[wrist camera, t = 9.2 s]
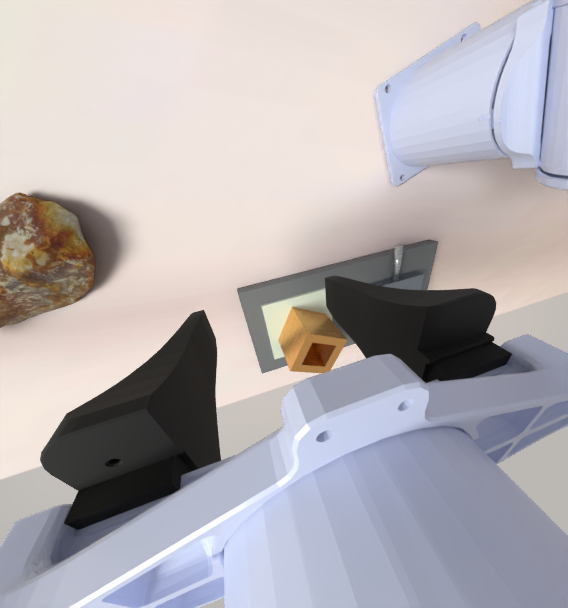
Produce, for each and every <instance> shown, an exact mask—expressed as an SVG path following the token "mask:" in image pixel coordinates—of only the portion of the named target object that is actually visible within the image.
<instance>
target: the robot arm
mask: <svg viewBox="0 0 568 608" xmlns="http://www.w3.org/2000/svg"><path fill="white" fill-rule="evenodd" d="M461 38H462V42H461ZM386 87H387V88H388V91H387V93H386V91H385V88H386ZM375 101H376V107H377V112H378V117H379V122H380V128H381V133H382V138H383V143H384V148H385V154H386V159H387V164H388V169H389V175H390V180H391V184H392V185H393V186H398V185H400V184H402V183H403V182H405V181H406V180H408V179H409V178H411V177H413V176H414V175H416V174H417V173H419V172H420V171H422V170H423V169H425V168H427V167H428V166H430V165H439V164H450V163H461V162H472V161H483V160H493V159H504V158H511V160H512V164H513V169H523V168H535V174H534V175H535V178H536V180H537V181H538V182H539V183H540V184H542V185H544V186H547V187H551V188H555V189H563V190H568V0H532V1H530V2H528V3H527V4H525V5H523V6H522V7H520V8H518V9H516V10H515V11H513V12H511V13H510V14H508V15H506V16H505V17H503V18H501V19H499V20H498V21H496V22H494V23H493V24H491V25H489V26H487V27H486V28H484V29H482V30H481V31H480V25H479V23H478V22H475V23H473V24H472V25H470V26H469V27H467V28H466V29H464V30H463V31H461V32H460V33H458V34H457V35H455V36H454V37H452V38H451V39H449V40H448V41H446V42H445V43H443V44H441V45H440V46H438V47H437V48H435V49H434V50H432V51H431V52H429V53H428V54H426V55H425V56H423V57H422V58H420V59H419V60H417V61H416V62H414V63H413V64H411V65H410V66H408V67H407V68H405V69H404V70H402V71H401V72H399V73H398V74H396V75H395V76H393V77H392V78H390V79H389V80H387V81H386V82H384V83H383V84H381V85H380V86H378V87H377V88H376V90H375ZM401 176H402V178H401V180H400V177H401ZM325 292H326V307H327V308H328V310H329V312H330V313H331V315H332V316H333V318H334V319H335V320H336V322H337V323H338V324H339V325H340V326H341V327H342V329H343V330H344V331H345V332H346V333H347V334H348V335H349V336H350V338H351V339H352V340H353V341H354V342H355V343H356V345H357V346H358V347H359V348H360V350H361V351H362V353H363V354H364V356H365V357H366V359H363V360H360V361H357V362H354V363H352V364H349V365H346V366H343V367H340V368H337V369H334V370H331V371H328V372H325V373H322V374H319V375H316V376H313V377H310V378H307V379H306V380H304V381H302V382H300V383H298V384H296V385H295V386H293V388H292V389H291V390H290V391H289V392H288V393H287V395H286V396H285V397H284V398H283V401H282V407H281V413H282V416H283V420H284V426H283V427H282V428H280V429H278V430H277V431H275V432H273V433H271V434H270V435H268V436H267V437H265V438H264V439H262V440H260V441H258V442H257V443H255V444H253V445H252V446H250V447H248V448H247V449H245V450H244V451H242V452H241V453H239V454H237V455H234V456H232V457H229V458H226V459H224V460H221V457H220V448H219V438H218V426H217V414H216V398H215V385H216V366H217V346H216V338H215V336H214V333H213V331H212V328H211V326H210V324H209V321H208V319H207V316H206V314H205V312H204V310H202V311H198V312H194V313H192V314H191V315H190V316H189V317H188V318H187V320H186V321H185V322H184V323H183V325H182V326H181V327H180V328H179V329H178V331H177V332H176V333H175V334H174V335H173V336H172V337H171V338H170V340H169V341H168V342H167V343H166V344H165V345H164V346H163V347H162V348H161V349H160V350H159V351H158V352H157V353H156V354H155V355H153V356H152V357H151V358H150V359H149V360H148V361H147V362H145V363H144V364H143V365H142V366H140V367H139V368H138V369H136V370H135V371H134V372H133V373H131V374H130V375H129V376H127V377H126V378H124V379H123V380H122V381H120V382H119V383H117V384H116V385H114V386H113V387H111V388H110V389H108V390H106V391H105V392H103V393H102V394H100V395H98V396H97V397H95V398H93V399H92V400H90V401H88V402H86V403H85V404H83V405H81V406H79V407H78V408H76V409H74V410H72V411H71V412H69V413H67V414H66V416H65V417H64V419H63V420H62V422H61V423H60V425H59V426H58V428H57V429H56V431H55V433H54V434H53V436H52V437H51V439H50V440H49V442H48V443H47V445H46V446H45V448H44V449H43V451H42V452H41V458H40V461H41V463H42V465H43V467H44V469H45V470H46V471H47V472H49V473H50V474H51V475H52V476H54V477H56V478H58V479H59V480H61V481H63V482H64V483H66V484H68V485H69V486H71V487H73V488H74V489H76V490H78V494H77V496H76V498H75V500H74V502H73V504H62V505H58V506H54V507H52V508H49V509H46V510H43V511H41V512H38V513H35V514H33V515H30V516H27V517H24V518H22V519H19V520H18V521H16V522H15V523H14V525H13V526H12V528H11V530H10V531H9V533H8V535H7V536H6V538H5V540H4V541H3V543H2V545H1V546H0V608H199V607H201V606H204V605H207V604H209V603H212V602H214V601H217V600H219V599H222V598H224V601H225V608H568V536H567V535H566V534H565V533H564V532H563V531H562V530H561V529H560V528H559V527H558V526H557V525H556V524H555V523H554V522H553V521H552V520H551V519H550V518H549V517H548V516H547V515H546V513H545V512H544V511H542V510H541V508H540V507H539V506H538V505H536V503H534V501H532V500H531V498H530V497H528V496H527V494H526V493H525V492H524V491H523V490H522V489H521V488H519V486H518V485H516V483H515V482H514V481H513V480H511V478H510V477H509V476H508V475H507V474H506V473H505V472H504V471H503V470H502V469H501V468H499V466H497V464H498V463H500V462H502V461H504V460H505V459H507V458H509V457H511V456H512V455H514V454H516V453H517V452H519V451H521V450H522V449H524V448H526V447H528V446H530V445H531V444H533V443H535V442H537V441H539V440H540V439H542V438H544V437H546V436H548V435H550V434H552V433H554V432H556V431H558V430H560V429H562V428H564V427H566V426H568V353H566V352H564V351H562V350H560V349H558V348H555V347H554V346H552V345H549V344H547V343H545V342H543V341H541V340H539V339H537V338H535V337H533V336H531V335H529V334H527V335H522V336H520V337H517V338H514V339H512V340H509V341H507V342H505V343H503V344H502V345H501V346H498V345H496V344H494V343H493V342H492V341H494V337H493V336H491V335H490V334H488V333H486V331H487V329H488V327H489V325H490V322H491V320H492V318H493V316H494V313H495V310H496V301H495V299H494V297H493V296H492V295H490V294H488V293H486V292H483V291H481V290H478V289H474V288H471V289H456V290H409V289H398V288H390V287H383V286H378V285H373V284H369V283H364V282H360V281H356V280H353V279H349V278H345V277H341V276H330V277H326V278H325Z"/></svg>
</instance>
